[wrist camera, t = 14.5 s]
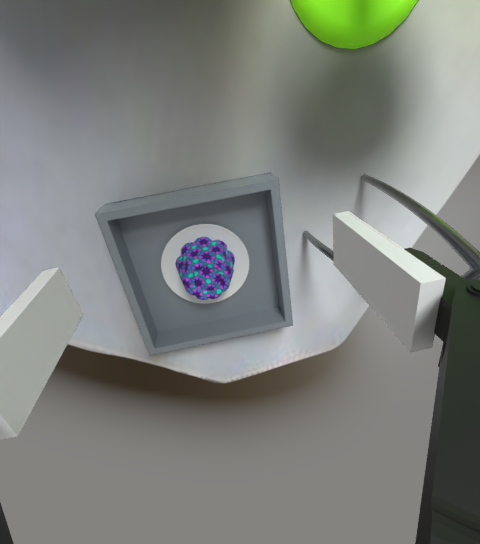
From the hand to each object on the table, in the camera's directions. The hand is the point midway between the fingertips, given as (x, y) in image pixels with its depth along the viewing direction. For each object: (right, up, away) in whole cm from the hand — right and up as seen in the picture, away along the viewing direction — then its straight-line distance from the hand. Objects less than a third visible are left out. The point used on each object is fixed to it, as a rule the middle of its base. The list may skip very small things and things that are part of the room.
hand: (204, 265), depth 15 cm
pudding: (-3, +1, +28) cm, 28 cm away
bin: (-3, +1, +29) cm, 29 cm away
